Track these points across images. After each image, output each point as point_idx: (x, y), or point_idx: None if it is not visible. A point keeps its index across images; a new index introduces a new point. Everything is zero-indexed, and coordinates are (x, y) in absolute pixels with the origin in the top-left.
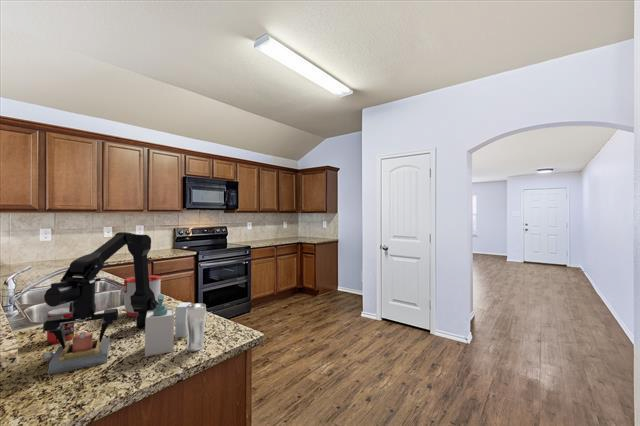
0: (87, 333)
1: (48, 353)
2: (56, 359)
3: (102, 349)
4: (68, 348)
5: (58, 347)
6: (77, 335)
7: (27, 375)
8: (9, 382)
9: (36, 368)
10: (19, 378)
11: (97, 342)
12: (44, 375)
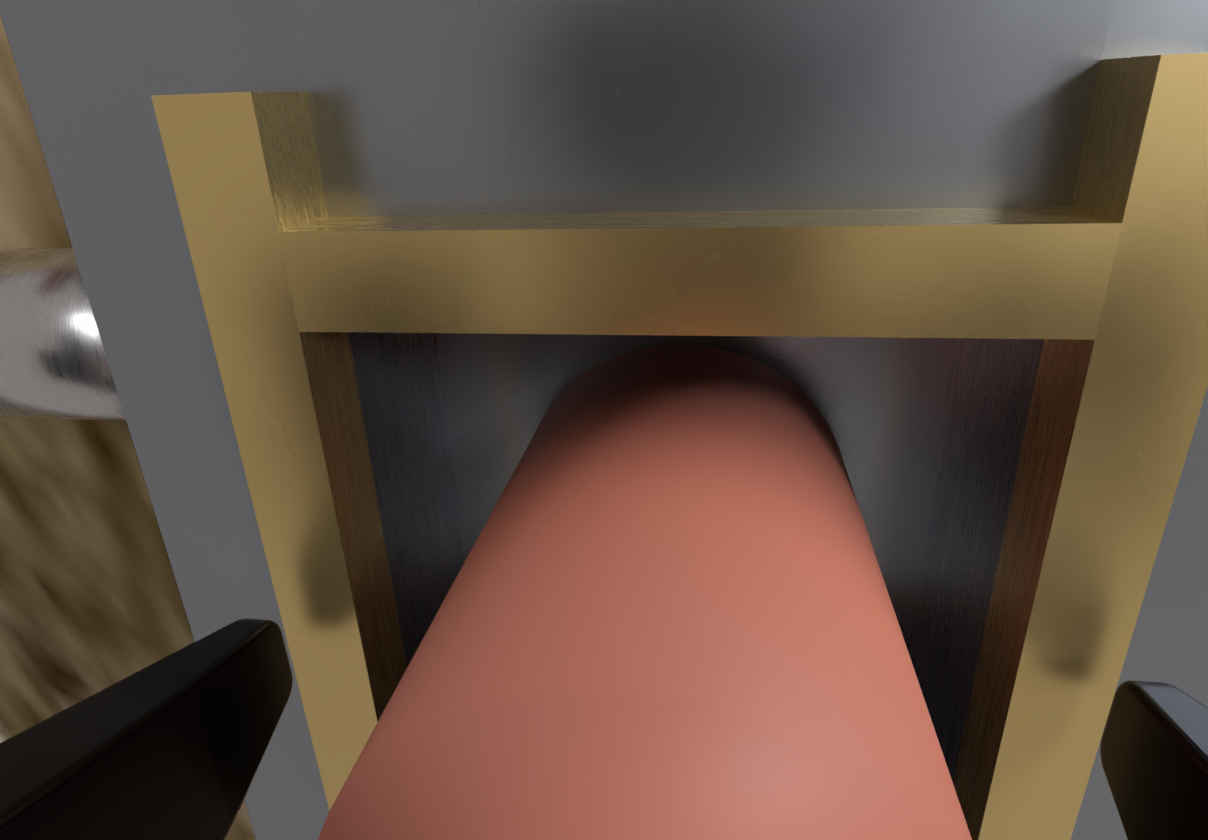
0: (790, 774)
1: (8, 398)
2: (312, 794)
3: (1088, 821)
4: (350, 511)
5: (32, 100)
6: (400, 776)
7: (104, 646)
8: (11, 718)
9: (95, 481)
10: (57, 677)
11: (1048, 559)
12: None
